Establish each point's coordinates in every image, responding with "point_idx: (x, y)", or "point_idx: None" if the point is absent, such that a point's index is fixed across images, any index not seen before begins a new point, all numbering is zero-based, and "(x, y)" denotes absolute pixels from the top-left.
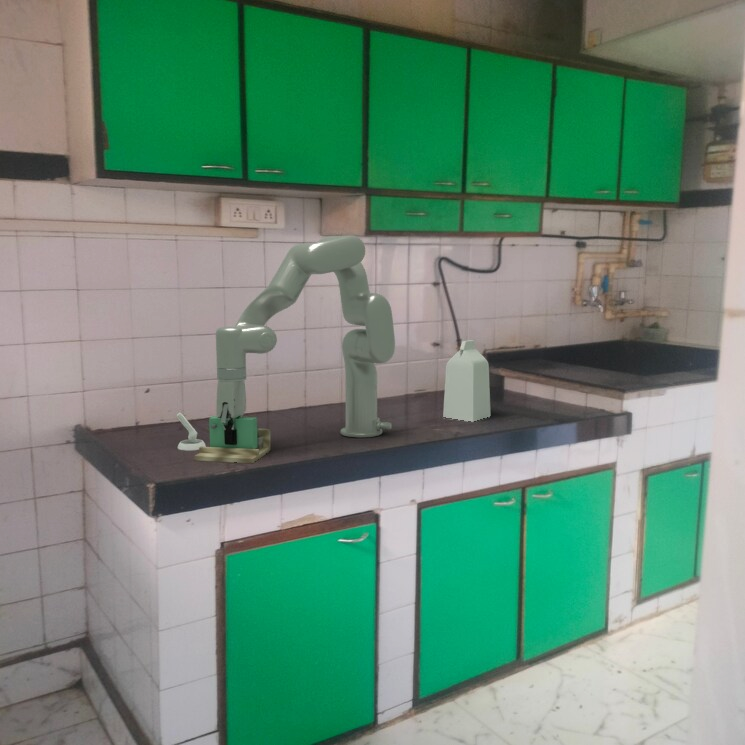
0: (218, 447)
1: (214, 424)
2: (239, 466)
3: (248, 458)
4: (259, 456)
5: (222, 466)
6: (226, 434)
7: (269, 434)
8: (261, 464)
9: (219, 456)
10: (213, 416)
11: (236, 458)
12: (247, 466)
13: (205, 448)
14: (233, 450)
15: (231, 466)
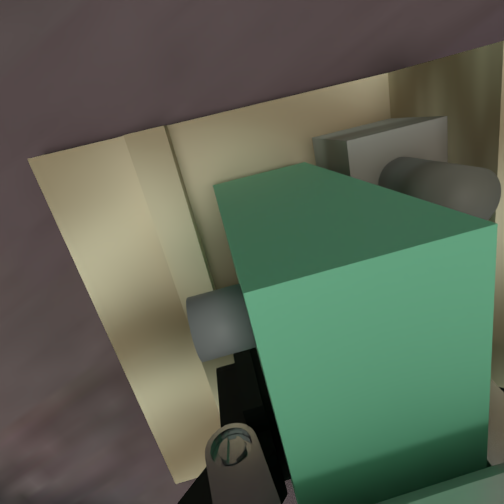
0: (206, 272)
1: (218, 353)
2: (97, 448)
3: (169, 467)
4: None
5: (44, 389)
6: (221, 409)
7: None
8: (181, 492)
9: (123, 324)
10: (453, 245)
11: (145, 417)
12: (118, 472)
13: (145, 191)
14: (208, 377)
15: (73, 422)
